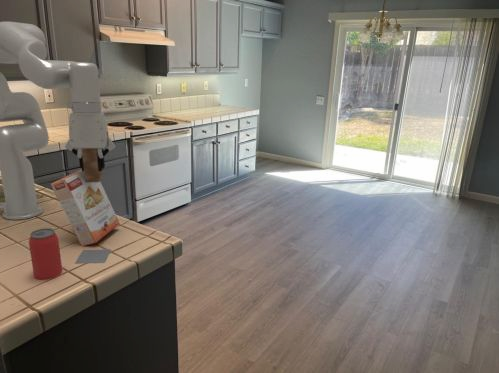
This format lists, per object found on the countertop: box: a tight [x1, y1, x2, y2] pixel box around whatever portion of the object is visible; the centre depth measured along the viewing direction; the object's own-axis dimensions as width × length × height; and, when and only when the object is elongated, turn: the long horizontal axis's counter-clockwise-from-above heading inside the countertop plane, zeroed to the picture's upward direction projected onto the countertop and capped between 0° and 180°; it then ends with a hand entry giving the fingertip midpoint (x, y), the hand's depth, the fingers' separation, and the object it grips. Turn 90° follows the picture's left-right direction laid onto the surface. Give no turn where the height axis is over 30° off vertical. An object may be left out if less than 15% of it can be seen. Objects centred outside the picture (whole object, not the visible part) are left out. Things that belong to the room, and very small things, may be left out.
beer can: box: [28, 227, 63, 281], centre depth 98 cm, size 7×7×12 cm
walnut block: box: [82, 149, 103, 182], centre depth 113 cm, size 4×4×12 cm
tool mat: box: [74, 248, 112, 265], centre depth 108 cm, size 8×8×1 cm
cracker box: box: [50, 169, 121, 247], centre depth 117 cm, size 14×6×21 cm, turn 169°
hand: (92, 169), depth 114 cm, fingers closed on walnut block, 4 cm apart
